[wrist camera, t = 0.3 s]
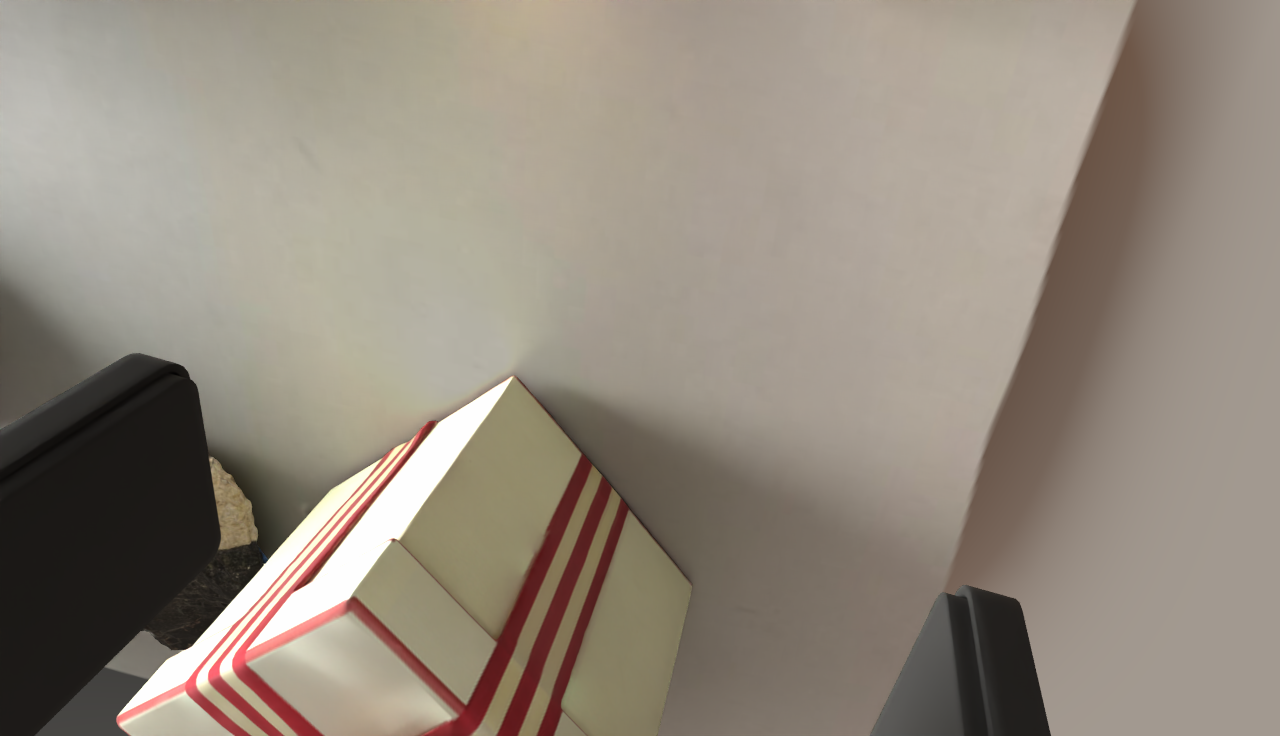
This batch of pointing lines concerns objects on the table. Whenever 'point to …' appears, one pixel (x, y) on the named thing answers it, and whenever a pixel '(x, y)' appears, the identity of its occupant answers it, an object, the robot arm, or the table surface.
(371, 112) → the table surface
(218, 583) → the mineral specimen
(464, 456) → the gift box
